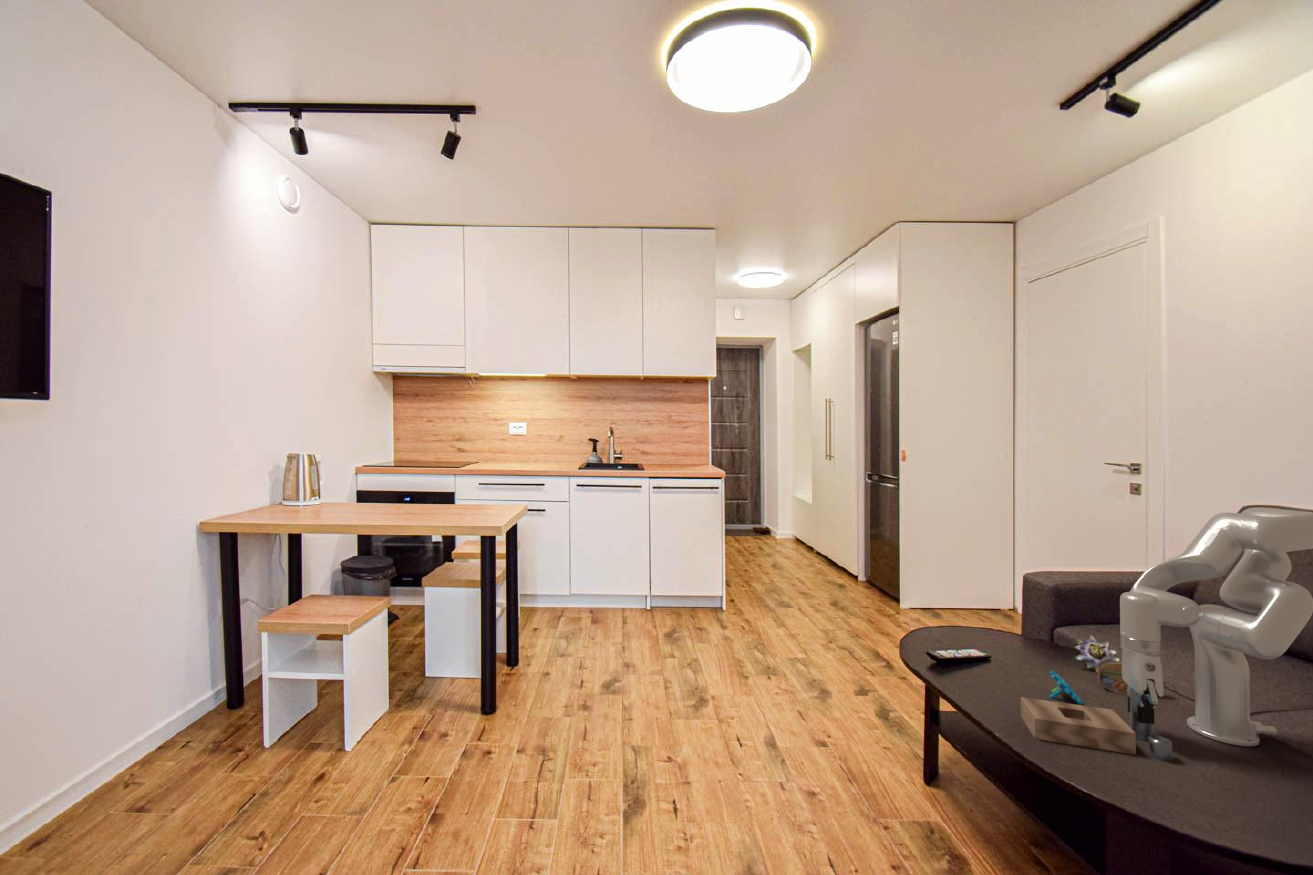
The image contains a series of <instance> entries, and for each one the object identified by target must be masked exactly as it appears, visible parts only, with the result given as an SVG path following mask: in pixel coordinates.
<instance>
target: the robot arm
mask: <svg viewBox="0 0 1313 875" xmlns="http://www.w3.org/2000/svg"><path fill="white" fill-rule="evenodd" d="M1311 549H1312V550H1313V512H1312V511H1305V510H1295V509H1286V508H1285V509H1283V508H1276V507H1275V508H1274V507H1265V506H1264V507H1263V506H1262V507H1261V506H1260V507H1258V506H1257V507H1249V508H1246V509H1243V511H1241V512H1240V513H1239V512H1220V513H1217V514H1214V515H1213V516H1212V517H1210V519H1209V520H1208V521H1207V522H1206V524H1205V525H1204V526H1203V527H1202V528H1201V530H1200V531H1199V532H1198V534H1197V535H1196V536H1195V537H1194V538H1193V540H1192V541H1191V542H1190V544H1189V545H1188V546H1187V547H1186V549H1185V550H1184V551H1183V552H1182V553H1180V554H1178V555H1176V556H1174V557H1171V558H1169V559H1166V560H1164V561H1162V562H1160V563H1158V564H1155V565H1153V566H1152V567H1150V568H1148V569H1147V570H1145V571H1144V572H1143V573H1142V574H1141V576H1139V578H1138V579H1137V580H1136V582H1135V583H1134V584H1133V585H1132V587H1131V589H1130V591H1127V592H1126V591H1125V592H1122V593H1121V594H1120V598H1119V628H1120V629H1119V631H1120V632H1119V638H1120V639H1119V640H1120V641H1119V642H1120V644H1119V645H1120V646H1119V647H1120V648H1121V649H1122V653H1121V663H1122V678H1123V680H1124V681H1125V682H1126V683H1127V685H1126V686H1127V694H1126V695H1127V712H1128V714H1130V687H1131V688H1132V689H1134V690H1135V691H1136V692H1137V693H1138V701H1139V705H1137V721H1138V722H1140V723H1147V724H1152V725H1154V724H1155V709H1156V705H1157V704H1159V699H1158V697H1159V698H1163V697H1164V696H1165V690H1164V689H1165V685H1164V686H1163V680H1164V676H1163V675H1164V674H1163V673H1164V672H1163V667H1162V660H1161V657H1160V655H1162V645H1161V643H1162V642H1161V641H1162V635H1161V629H1162V628H1161V626H1169V627H1170V626H1171V627H1178V628H1189V630H1190V633H1191V637H1192V640H1193V641H1192V642H1193V647H1194V648H1193V649H1194V703H1195V704H1194V706H1195V710H1194V711H1195V712H1194V713H1195V716H1189V717H1188V718H1187V719H1186V724H1187V727H1189V728H1190V729H1191V730H1192V731H1193V732H1196V733H1198V734H1199V735H1202V736H1204V737H1205V738H1209V739H1211V740H1215V741H1218V742H1220V743H1224V744H1230V745H1233V746H1239V747H1240V746H1241V747H1255V746H1258V745H1259V744H1260V741H1261V740H1260V737H1259V736H1258V735H1261V734H1265V735H1272V736H1277V735H1278V730H1277V728H1276V727H1275V726H1270V725H1263V723H1262V722H1261V721H1254V720H1251V704H1250V703H1251V702H1250V698H1251V697H1250V690H1251V689H1250V685H1251V684H1250V667H1249V663H1248V660H1247V658H1246V656H1245V655H1248V656H1252V657H1255V658H1258V659H1263V660H1274V659H1278V658H1280V657H1281V656H1282V655H1283V654H1284V653H1285V652H1286V651H1287V650H1288V649H1289V647H1290V646H1291V645H1292V644H1293V643H1294V641H1295V639H1296V638H1298V635H1299V634H1300V633H1301V632H1302V630H1303V629H1304V628H1305V626H1306V624H1307V623H1308V622H1309V620H1310V619H1311V618H1312V615H1313V596H1312V594H1311V593H1310V591H1309V590H1308V589H1306V588H1305V587H1304V586H1302V585H1300V584H1298V583H1295V582H1292V581H1287V578H1288V577H1289V575H1290V574H1291V571H1292V569H1293V568H1292V566H1293V565H1292V562H1291V559H1290V557H1289V555H1288V554H1287V553H1288V552H1297V551H1304V550H1305V551H1306V550H1311ZM1241 554H1243V555H1242V556H1241ZM1240 556H1241V558H1240V560H1239V562H1238V563H1237V564H1236V565H1235V566H1234V567H1233V569H1232V571H1231V572H1230V574H1229V575H1228V576H1227V577H1226V579H1225V580H1224V582H1223V583H1222V584H1221V586H1220V588H1219V597H1220V599H1221V600H1222V601H1223V602H1224V603H1225V604H1226V605H1229V606H1230V607H1232V608H1229V607H1227V606H1222V605H1219V604H1200V605H1199V604H1197V602H1196V601H1194V600H1192V599H1190V598H1188V597H1187V596H1186V597H1185V596H1182V595H1179V594H1176V593H1173V592H1169V591H1168V590H1169V589H1171V588H1172V587H1174V586H1177V585H1179V584H1182V583H1188V582H1191V581H1193V582H1194V581H1201V580H1209V579H1217V578H1221V577H1223V576H1224V575H1225V574H1226V573H1228V571H1229V569H1230V568H1231V567H1232V566H1233V565H1234V563H1235V562H1236V561H1237V559H1238V558H1239V557H1240ZM1233 608H1235V609H1233ZM1143 691H1147V692H1148V694H1147V693H1143ZM1143 696H1145V697H1148V698H1147V699H1146V698H1145V699H1144V700H1143Z"/></svg>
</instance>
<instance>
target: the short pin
mask: <svg viewBox="0 0 1313 875" xmlns="http://www.w3.org/2000/svg"><path fill="white" fill-rule="evenodd" d="M1148 755H1149V756H1150V757H1152V758H1153V759H1155V760H1158V761H1160V762H1165V763H1166V762H1167V763H1170V762H1173V742H1172V740H1170V739H1169V738H1166V737H1164V736H1161V735H1156V734H1152V735H1149V741H1148Z"/></svg>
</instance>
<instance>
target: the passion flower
mask: <svg viewBox="0 0 1313 875" xmlns="http://www.w3.org/2000/svg"><path fill="white" fill-rule="evenodd" d="M1073 643H1074V645H1075V646H1074V647H1073V648H1074V649H1076V650H1078V651H1079V652H1080V653H1079V654H1077V655H1075V656H1074V660H1076V661H1083V660H1084V662H1085V666H1086V668H1087V670H1089V669H1093V670H1094V671H1095V673H1097V671H1098V668H1099V667H1100V665H1102V664H1103V663H1106V662H1119V663H1121V659H1120V658H1119V657H1118V656H1117V655H1116V654H1117V651H1116V650H1112V649H1110V648H1109V645H1110V644H1109V642H1108V641H1106V642H1101V641H1100V642H1098V639H1095V637H1094V636H1093V635H1090V636H1089V637H1088V639H1086V640H1080V639H1077V640H1074V641H1073Z"/></svg>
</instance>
